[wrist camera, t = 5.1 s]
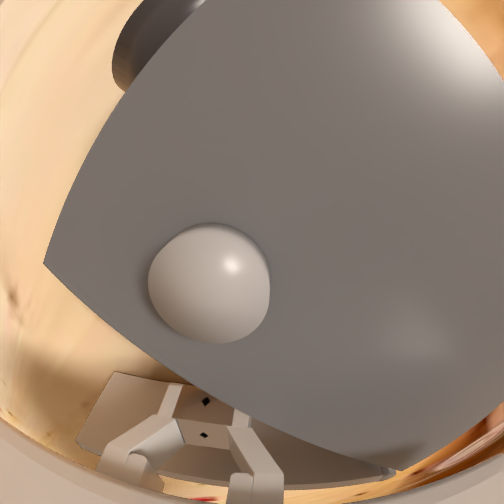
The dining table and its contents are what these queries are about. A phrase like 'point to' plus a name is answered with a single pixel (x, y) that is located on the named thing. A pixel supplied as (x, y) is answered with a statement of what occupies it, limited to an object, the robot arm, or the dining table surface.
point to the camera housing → (303, 216)
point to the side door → (215, 459)
